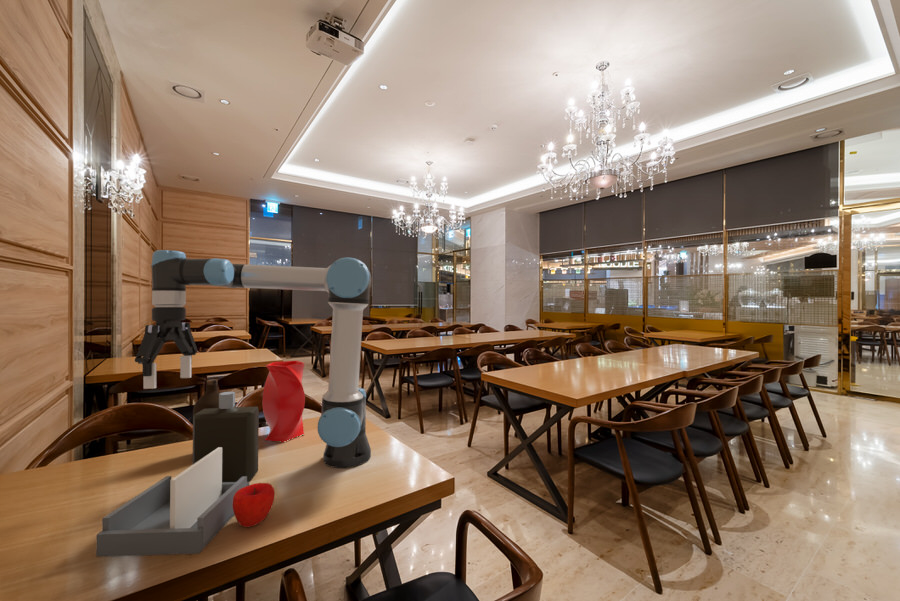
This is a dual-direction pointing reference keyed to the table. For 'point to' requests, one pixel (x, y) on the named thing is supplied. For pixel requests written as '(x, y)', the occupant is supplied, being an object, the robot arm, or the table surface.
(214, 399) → the olive oil
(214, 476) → the plate
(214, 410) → the bottle
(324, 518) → the table surface
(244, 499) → the apple
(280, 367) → the vase
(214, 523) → the grey tray
